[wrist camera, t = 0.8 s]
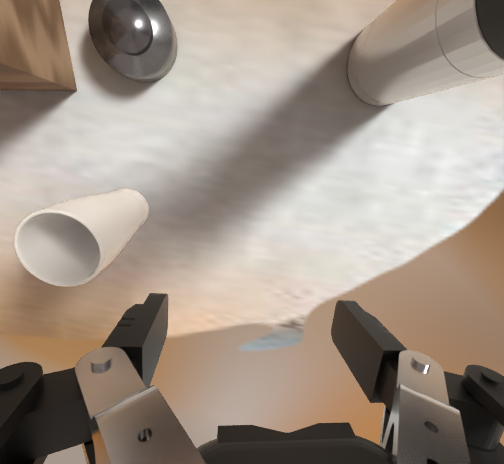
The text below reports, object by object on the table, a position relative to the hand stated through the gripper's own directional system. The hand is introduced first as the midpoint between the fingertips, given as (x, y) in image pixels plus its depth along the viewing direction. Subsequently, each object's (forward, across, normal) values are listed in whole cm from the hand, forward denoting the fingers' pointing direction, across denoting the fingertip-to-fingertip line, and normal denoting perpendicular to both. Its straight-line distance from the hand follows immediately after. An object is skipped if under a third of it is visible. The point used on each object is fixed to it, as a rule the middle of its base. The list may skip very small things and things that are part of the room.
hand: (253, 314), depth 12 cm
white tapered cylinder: (+25, +14, 0) cm, 29 cm away
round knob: (+24, +12, -19) cm, 33 cm away
